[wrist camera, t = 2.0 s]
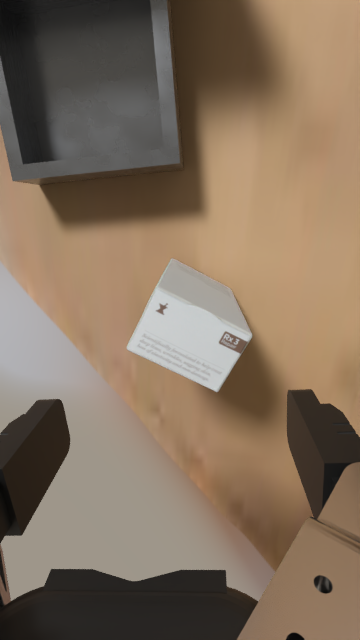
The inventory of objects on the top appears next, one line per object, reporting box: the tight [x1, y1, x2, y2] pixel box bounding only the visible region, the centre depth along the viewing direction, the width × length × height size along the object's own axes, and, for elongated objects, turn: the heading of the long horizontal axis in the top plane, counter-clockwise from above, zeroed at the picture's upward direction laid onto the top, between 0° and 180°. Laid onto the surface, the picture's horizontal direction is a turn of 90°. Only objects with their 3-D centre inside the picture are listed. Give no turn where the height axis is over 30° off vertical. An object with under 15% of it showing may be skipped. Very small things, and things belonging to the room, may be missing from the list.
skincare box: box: [127, 258, 252, 392], centre depth 24 cm, size 6×4×12 cm
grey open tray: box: [0, 0, 184, 185], centre depth 23 cm, size 12×14×4 cm
